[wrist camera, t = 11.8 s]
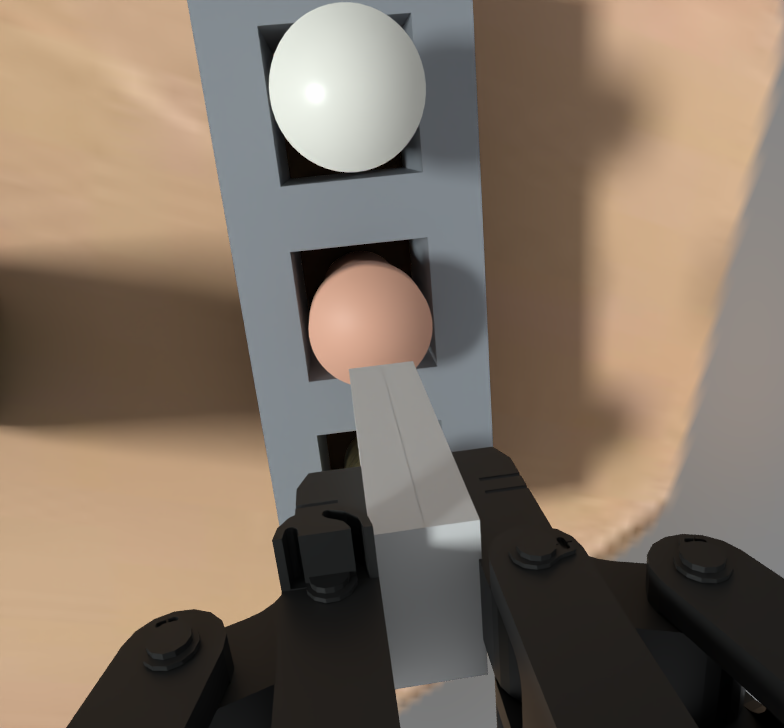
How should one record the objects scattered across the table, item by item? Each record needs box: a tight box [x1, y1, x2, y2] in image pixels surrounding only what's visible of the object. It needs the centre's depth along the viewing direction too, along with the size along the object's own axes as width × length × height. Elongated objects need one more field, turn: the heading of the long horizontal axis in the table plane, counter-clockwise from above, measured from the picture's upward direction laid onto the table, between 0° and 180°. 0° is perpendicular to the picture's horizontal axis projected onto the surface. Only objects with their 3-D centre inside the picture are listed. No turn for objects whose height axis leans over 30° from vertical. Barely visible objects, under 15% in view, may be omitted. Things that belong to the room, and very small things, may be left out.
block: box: [187, 0, 493, 525], centre depth 29 cm, size 26×10×7 cm, turn 5°
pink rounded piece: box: [309, 251, 432, 384], centre depth 27 cm, size 5×5×7 cm
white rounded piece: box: [269, 2, 426, 172], centre depth 22 cm, size 5×5×7 cm
